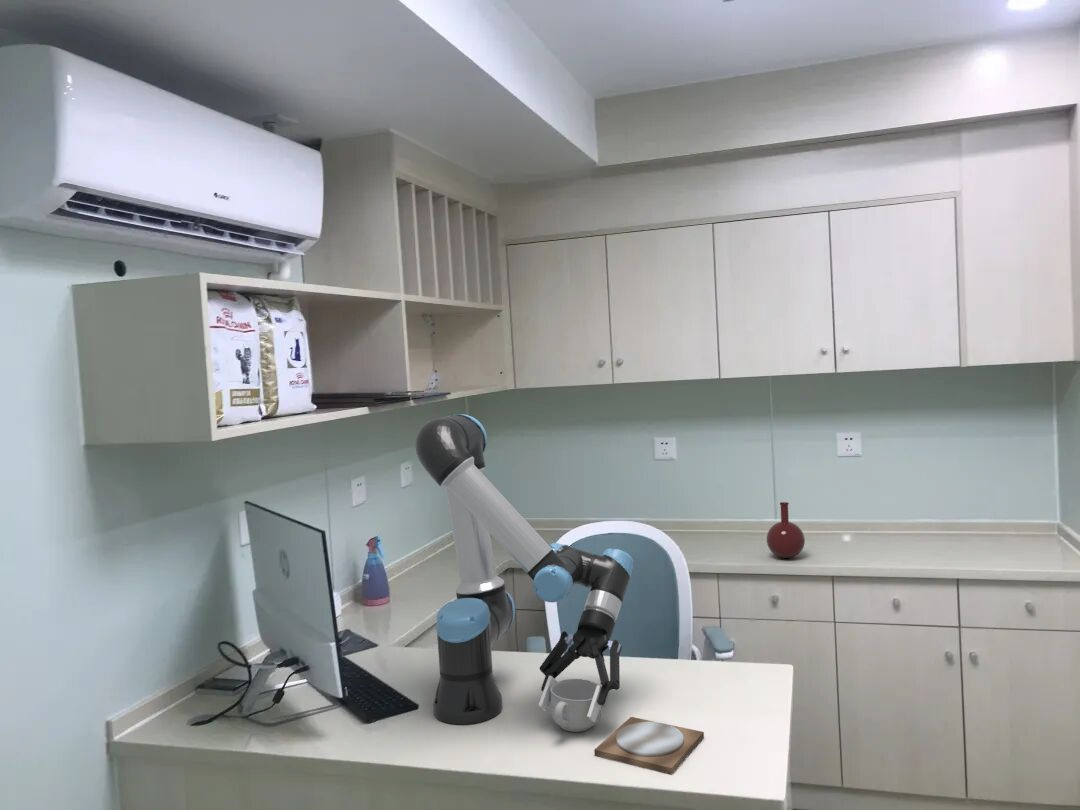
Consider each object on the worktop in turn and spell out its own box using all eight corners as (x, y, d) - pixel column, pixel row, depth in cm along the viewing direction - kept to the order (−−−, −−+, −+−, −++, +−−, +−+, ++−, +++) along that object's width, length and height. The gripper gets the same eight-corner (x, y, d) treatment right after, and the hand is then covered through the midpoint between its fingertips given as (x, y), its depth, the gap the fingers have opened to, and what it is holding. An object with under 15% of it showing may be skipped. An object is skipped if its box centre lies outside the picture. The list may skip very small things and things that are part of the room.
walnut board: (594, 755, 160) (594, 745, 160) (631, 722, 173) (630, 712, 173) (671, 774, 151) (671, 763, 151) (703, 737, 165) (703, 728, 165)
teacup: (572, 709, 180) (570, 673, 180) (613, 722, 174) (612, 684, 173) (531, 734, 170) (529, 696, 169) (574, 748, 163) (572, 709, 162)
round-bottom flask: (778, 552, 308) (776, 498, 306) (811, 556, 298) (809, 501, 297) (760, 559, 298) (758, 504, 297) (794, 564, 289) (792, 507, 288)
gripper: (653, 631, 177) (624, 732, 165) (560, 617, 190) (526, 710, 178) (642, 614, 172) (610, 717, 160) (547, 601, 185) (511, 695, 173)
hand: (566, 713), depth 169 cm, fingers closed on teacup, 11 cm apart
